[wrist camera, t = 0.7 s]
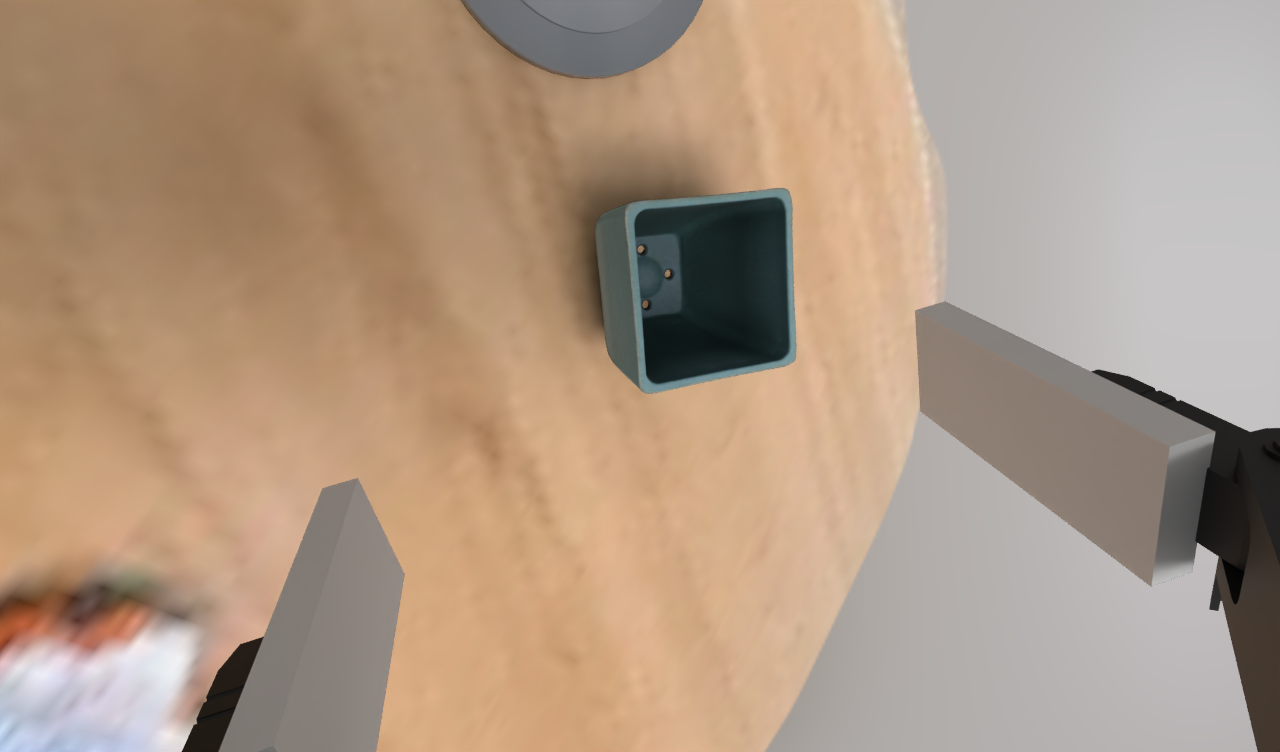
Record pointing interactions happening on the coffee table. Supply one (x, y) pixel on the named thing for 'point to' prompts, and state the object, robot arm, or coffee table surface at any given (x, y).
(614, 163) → the coffee table surface
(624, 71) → the saucer
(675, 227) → the flower pot
